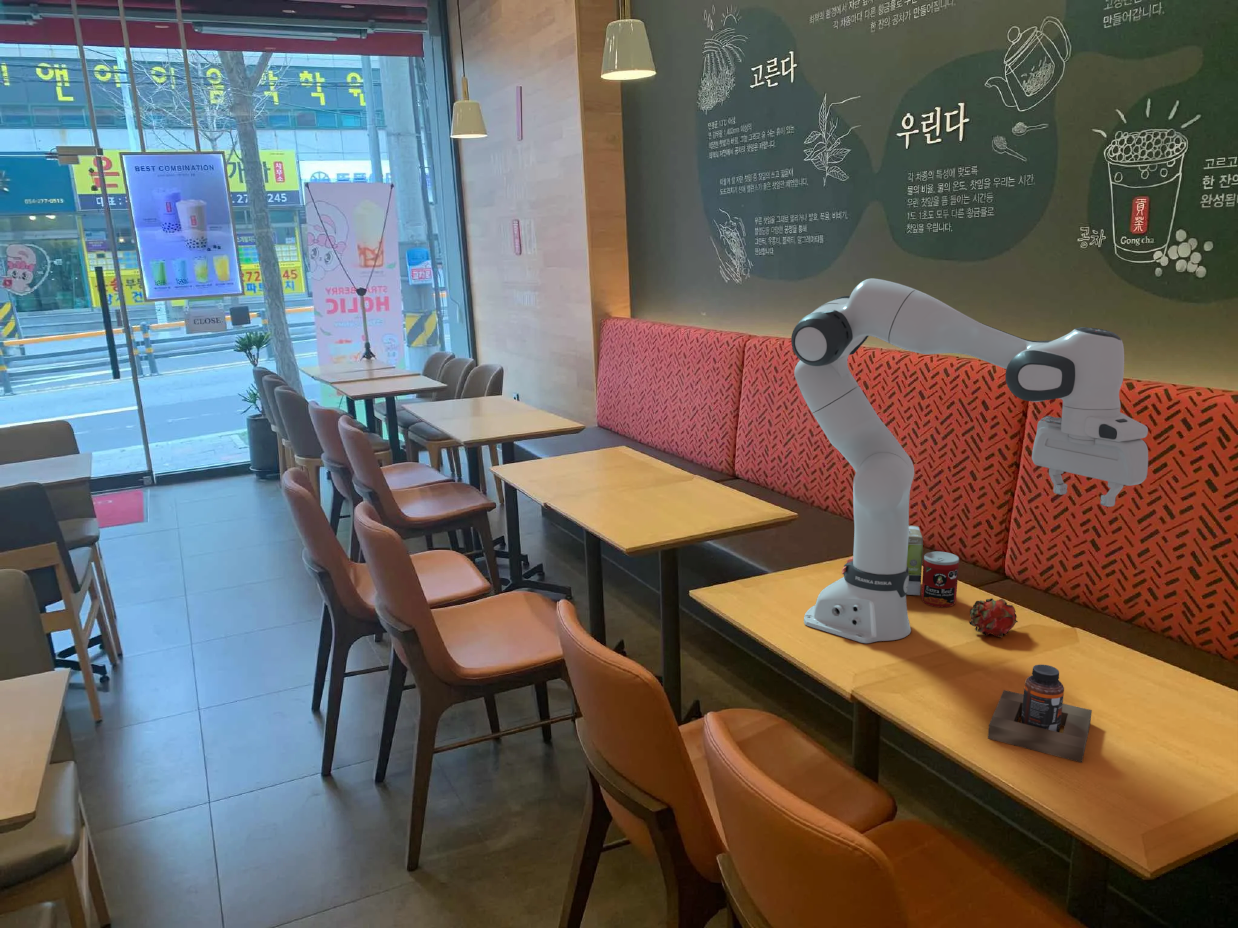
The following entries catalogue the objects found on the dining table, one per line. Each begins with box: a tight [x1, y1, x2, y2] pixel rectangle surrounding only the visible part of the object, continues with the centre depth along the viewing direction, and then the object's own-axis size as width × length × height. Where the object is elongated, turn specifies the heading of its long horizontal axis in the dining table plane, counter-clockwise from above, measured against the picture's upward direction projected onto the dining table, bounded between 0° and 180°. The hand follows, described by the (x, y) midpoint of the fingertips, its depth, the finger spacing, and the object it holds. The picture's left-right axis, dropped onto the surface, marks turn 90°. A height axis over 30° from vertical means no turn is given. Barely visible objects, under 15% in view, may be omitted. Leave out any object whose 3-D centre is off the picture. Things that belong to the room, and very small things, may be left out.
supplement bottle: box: [1020, 664, 1065, 732], centre depth 146 cm, size 6×6×11 cm
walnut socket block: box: [987, 689, 1093, 764], centre depth 147 cm, size 14×14×2 cm
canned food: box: [920, 550, 960, 608], centre depth 202 cm, size 8×8×11 cm
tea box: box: [906, 525, 924, 596], centre depth 211 cm, size 15×10×15 cm
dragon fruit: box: [968, 597, 1019, 639], centre depth 185 cm, size 8×8×12 cm
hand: (1083, 499), depth 154 cm, fingers open, 8 cm apart
